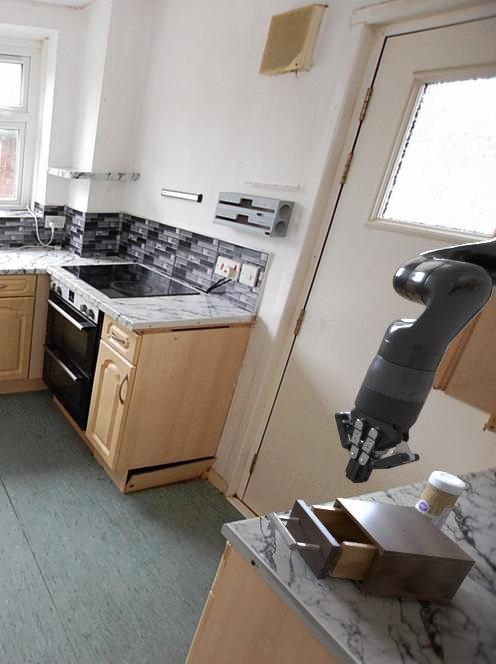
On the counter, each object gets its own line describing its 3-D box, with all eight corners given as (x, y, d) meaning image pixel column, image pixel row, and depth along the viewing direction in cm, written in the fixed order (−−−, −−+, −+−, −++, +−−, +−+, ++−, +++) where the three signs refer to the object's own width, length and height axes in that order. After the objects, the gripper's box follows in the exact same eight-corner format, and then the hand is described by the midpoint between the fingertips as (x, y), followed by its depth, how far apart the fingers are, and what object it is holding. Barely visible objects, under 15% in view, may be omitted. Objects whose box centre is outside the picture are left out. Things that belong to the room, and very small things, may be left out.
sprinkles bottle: (397, 527, 89) (426, 471, 84) (414, 524, 90) (444, 469, 85) (423, 546, 85) (455, 488, 80) (440, 543, 86) (473, 485, 81)
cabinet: (362, 592, 74) (384, 550, 71) (319, 536, 85) (336, 497, 82) (449, 603, 73) (475, 561, 70) (394, 546, 84) (415, 507, 81)
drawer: (286, 575, 75) (301, 541, 72) (255, 527, 84) (267, 495, 82) (396, 589, 74) (415, 555, 71) (352, 539, 84) (367, 507, 81)
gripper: (463, 410, 64) (413, 508, 70) (376, 368, 76) (340, 454, 82) (417, 410, 63) (370, 510, 69) (336, 367, 75) (303, 455, 81)
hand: (354, 479), depth 76 cm, fingers closed
